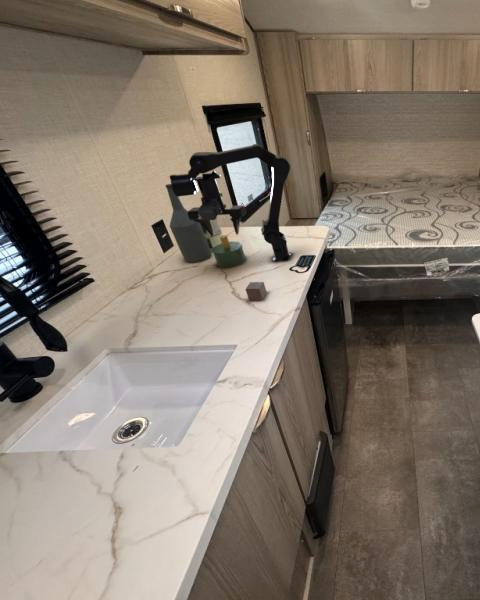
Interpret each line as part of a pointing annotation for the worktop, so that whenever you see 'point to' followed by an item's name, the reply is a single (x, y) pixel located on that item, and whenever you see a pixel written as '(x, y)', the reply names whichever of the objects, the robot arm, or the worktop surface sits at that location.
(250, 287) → the block
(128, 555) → the worktop surface
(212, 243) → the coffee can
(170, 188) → the bottle
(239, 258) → the tin
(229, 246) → the lid
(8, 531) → the worktop surface
